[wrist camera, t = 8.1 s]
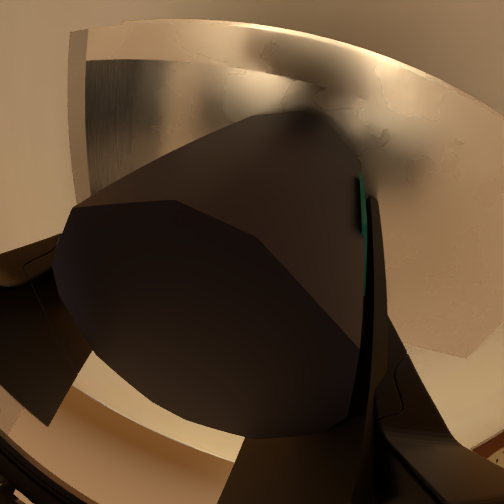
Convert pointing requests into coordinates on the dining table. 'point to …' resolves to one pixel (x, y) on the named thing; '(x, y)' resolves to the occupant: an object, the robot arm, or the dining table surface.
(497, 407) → the dining table surface
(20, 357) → the robot arm
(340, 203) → the speaker
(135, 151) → the beige shallow tray
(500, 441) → the food container
